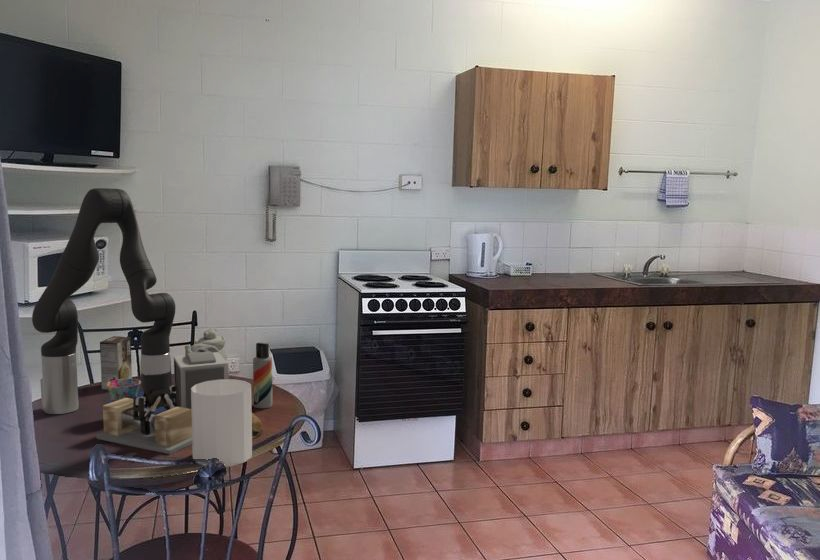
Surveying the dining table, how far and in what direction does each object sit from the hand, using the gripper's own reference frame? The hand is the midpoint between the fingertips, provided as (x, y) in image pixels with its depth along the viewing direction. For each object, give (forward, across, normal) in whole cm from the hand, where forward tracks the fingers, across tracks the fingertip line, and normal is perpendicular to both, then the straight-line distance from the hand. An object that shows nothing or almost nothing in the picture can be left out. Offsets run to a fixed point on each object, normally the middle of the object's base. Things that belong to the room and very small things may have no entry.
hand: (157, 429), depth 184 cm
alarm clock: (+3, -23, -5) cm, 24 cm away
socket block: (+3, 0, +6) cm, 6 cm away
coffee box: (+3, -33, -49) cm, 59 cm away
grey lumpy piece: (+3, -47, -24) cm, 53 cm away
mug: (+3, -11, -22) cm, 25 cm away
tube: (+1, 0, -3) cm, 3 cm away
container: (+3, +1, +22) cm, 22 cm away
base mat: (+3, 0, -3) cm, 4 cm away
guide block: (+2, 0, -12) cm, 13 cm away
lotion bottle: (+3, -37, +7) cm, 38 cm away
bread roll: (+3, -14, +17) cm, 22 cm away
